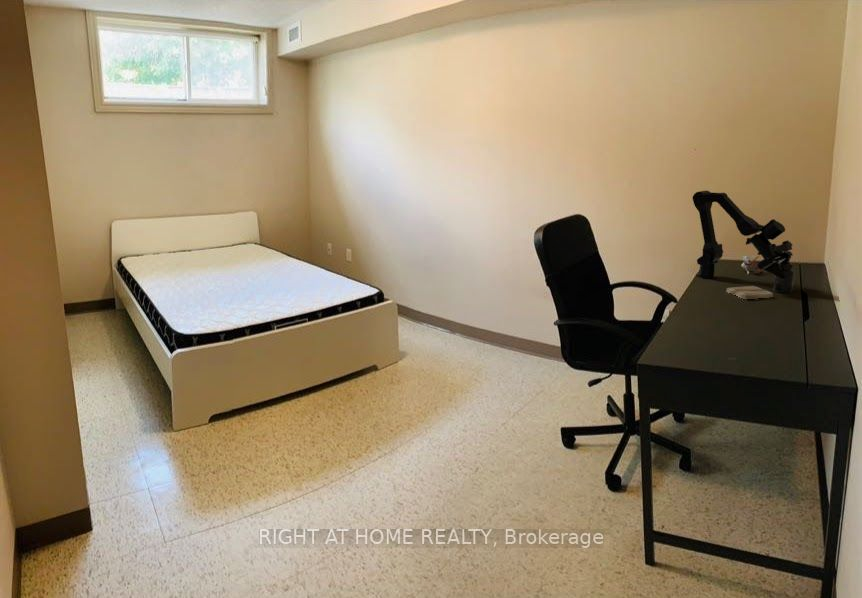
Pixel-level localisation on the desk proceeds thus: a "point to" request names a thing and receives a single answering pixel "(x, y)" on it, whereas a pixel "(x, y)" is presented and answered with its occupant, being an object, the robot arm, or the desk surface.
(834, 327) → the desk surface
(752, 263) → the toy character
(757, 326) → the desk surface
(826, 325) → the desk surface
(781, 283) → the supplement bottle
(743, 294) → the base slab
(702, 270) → the robot arm
